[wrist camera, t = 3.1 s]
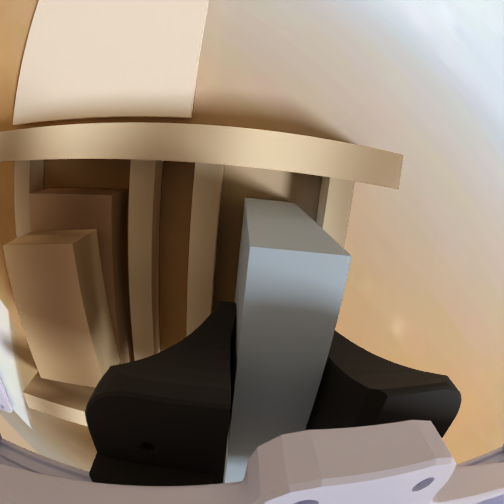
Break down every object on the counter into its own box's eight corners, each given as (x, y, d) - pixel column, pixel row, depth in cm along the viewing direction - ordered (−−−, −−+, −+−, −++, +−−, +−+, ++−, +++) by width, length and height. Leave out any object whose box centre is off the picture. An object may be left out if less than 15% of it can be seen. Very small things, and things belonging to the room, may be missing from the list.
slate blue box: (227, 378, 15) (223, 495, 9) (245, 197, 13) (249, 246, 6) (266, 381, 15) (280, 496, 9) (294, 202, 13) (351, 256, 6)
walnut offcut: (74, 348, 15) (56, 373, 13) (57, 186, 13) (29, 193, 10) (138, 360, 16) (126, 389, 13) (132, 188, 13) (111, 195, 11)
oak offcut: (59, 353, 13) (41, 377, 11) (30, 231, 11) (2, 245, 9) (120, 360, 13) (106, 389, 11) (96, 229, 11) (72, 243, 9)
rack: (50, 377, 15) (29, 407, 13) (23, 134, 11) (-17, 134, 9) (313, 411, 16) (323, 449, 14) (370, 153, 12) (403, 155, 10)
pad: (17, 125, 11) (12, 124, 11) (54, -29, 9) (50, -31, 8) (191, 118, 12) (189, 117, 11) (220, -52, 9) (219, -57, 9)
